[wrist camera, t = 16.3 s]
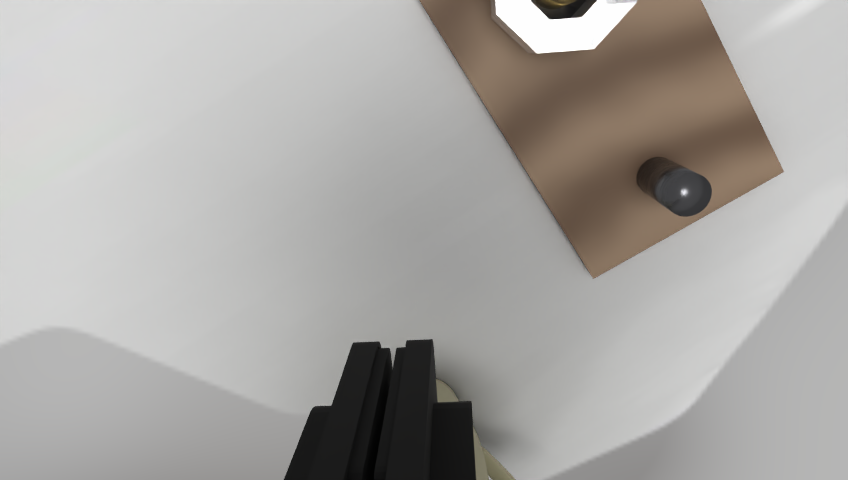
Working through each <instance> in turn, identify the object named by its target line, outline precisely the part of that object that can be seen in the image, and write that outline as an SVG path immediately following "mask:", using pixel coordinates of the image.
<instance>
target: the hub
mask: <svg viewBox="0 0 848 480" xmlns="http://www.w3.org/2000/svg"><path fill="white" fill-rule="evenodd" d="M530 1H531V2H532V3H533V4H534V5H535V6H536V7H537V8H538V9H539V10H540V11H541V12H542V13H543V14H544V15H545V16H546V17H547V18H548V19H549V20H557V19H569V18H571V17H572V16H573V15H574V14H575V12H576V11H577V10H578V9H579V8H580V7H581V6H582V5H583V4H584V2H585V1H586V0H530Z"/></svg>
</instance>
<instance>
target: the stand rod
mask: <svg viewBox="0 0 848 480" xmlns="http://www.w3.org/2000/svg"><path fill="white" fill-rule="evenodd" d="M636 180H637V184H638V186H639V188H640V189H641V190H642V191H643V192H644V193H646V194H647V195H649V196H650V197H651V198H653V199H654V200H656V201H657V202H658V203H660V204H661V205H663V206H664V207H665V208H667V209H668V210H670V211H671V212H673V213H674V214H676V215H678V216H683V217H688V216H693V215H696V214H698V213H700V212H701V211H702V210H704V209H705V208H706V206H707V205H708V203H709V202H710V199H711V196H712V188H711V185H710V183H709V181H708V180H707V179H706V178H705V177H704V176H702V175H700V174H698V173H696V172H694V171H692V170H690V169H688V168H686V167H683V166H681V165H679V164H677V163H675V162H673V161H671V160H669V159H667V158H664V157H654V158H651V159H648V160H647V161H645V162H644V163H643V164H642V165H641V166H640V168H639V170H638V172H637V177H636Z"/></svg>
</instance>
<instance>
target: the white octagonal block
mask: <svg viewBox="0 0 848 480" xmlns="http://www.w3.org/2000/svg"><path fill="white" fill-rule="evenodd" d="M636 3H637V0H586V1H585V2H584V4H583V5H582V6H581V7H580V8H579V9H578V10H577V11H576V12H575V14H574V15H573V16H572V17H571V18H569V19H557V20H549V19H548V18H547V17H546V16H545V15H544V14H543V13H542V12H541V11H540V10H539V9H538V8H537V7H536V6H535V5H534V4H533V3H532V2H531V1H530V0H491V18H492V19H493V20H494V21H495V22H496V23H497V24H498V25H499V26H500V27H501V28H502V29H503V30H504V31H505V32H506V33H507V34H508V35H509V36H510V37H511V38H512V39H513V40H514V41H515V42H517V43H518V44H519V45H520V46H521V47H522V48H523V49H524V50H525V51H526V52H527V53H545V52H558V51H571V50H584V49H594V48H595V47H596V46H597V45H598V44H599V43H600V42H601V41H602V40H603V38H604V37H605V36H606V35H607V34H608V33H609V32H610V31H611V30H612V29H613V28H614V27H615V25H616V24H617V23H618V22H619V21H620V20H621V19H622V18H623V17H624V16H625V15H626V14H627V12H628V11H629V10H630V9H631V8H632V7H633V6H634V5H635V4H636Z"/></svg>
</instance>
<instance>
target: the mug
mask: <svg viewBox="0 0 848 480" xmlns="http://www.w3.org/2000/svg"><path fill="white" fill-rule="evenodd" d="M436 386H437V400H438V402H459V400H458V399H457V397H456V395H455V394H454V392H453V390H452V389H451V388H450V387H449V386H448V385H447V384H445V383H444V382H442V381H440V380H438V379H436ZM473 435H474V452H475V468H476V480H489V478H488V475H489V476H490V477H491V479H492V480H515V479H514V477H513V476H512V475H511V474H510V473H509V472H508V471H507V470H506V469H505V468H504V467H503V466H502V465H501V464H500V463H499V462H498V461H497V460H496V459H495V458H494V457H493V456H492V455H491V454H490V453H489V452H488V451H487V450H486V449H484V448H483V447H482V446H481V444H480V441H479V438H478V435H477V433H476V431H475V429H474V427H473Z"/></svg>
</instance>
